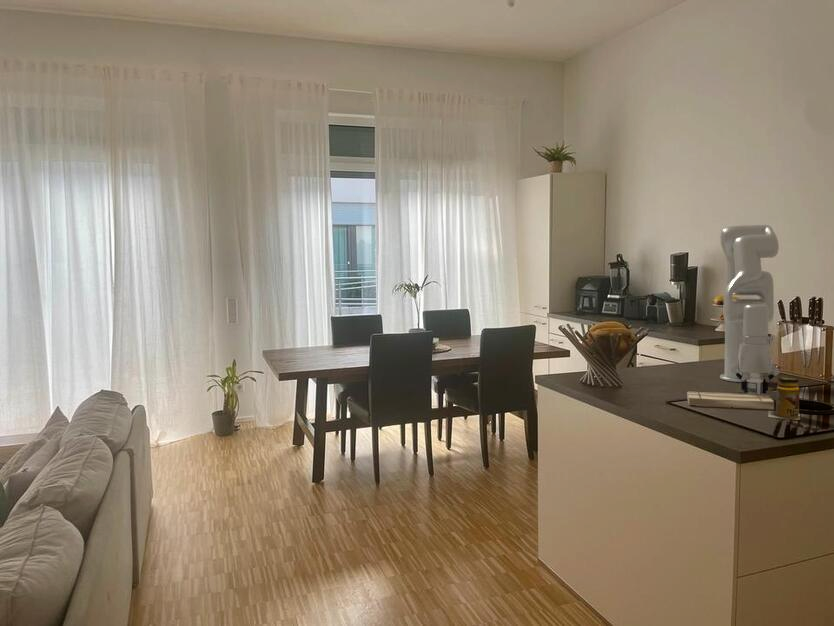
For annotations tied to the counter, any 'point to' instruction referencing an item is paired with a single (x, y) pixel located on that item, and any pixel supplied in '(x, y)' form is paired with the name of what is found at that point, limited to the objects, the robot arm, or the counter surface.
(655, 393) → the counter surface
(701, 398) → the plank
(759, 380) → the pill bottle
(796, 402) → the condiment
